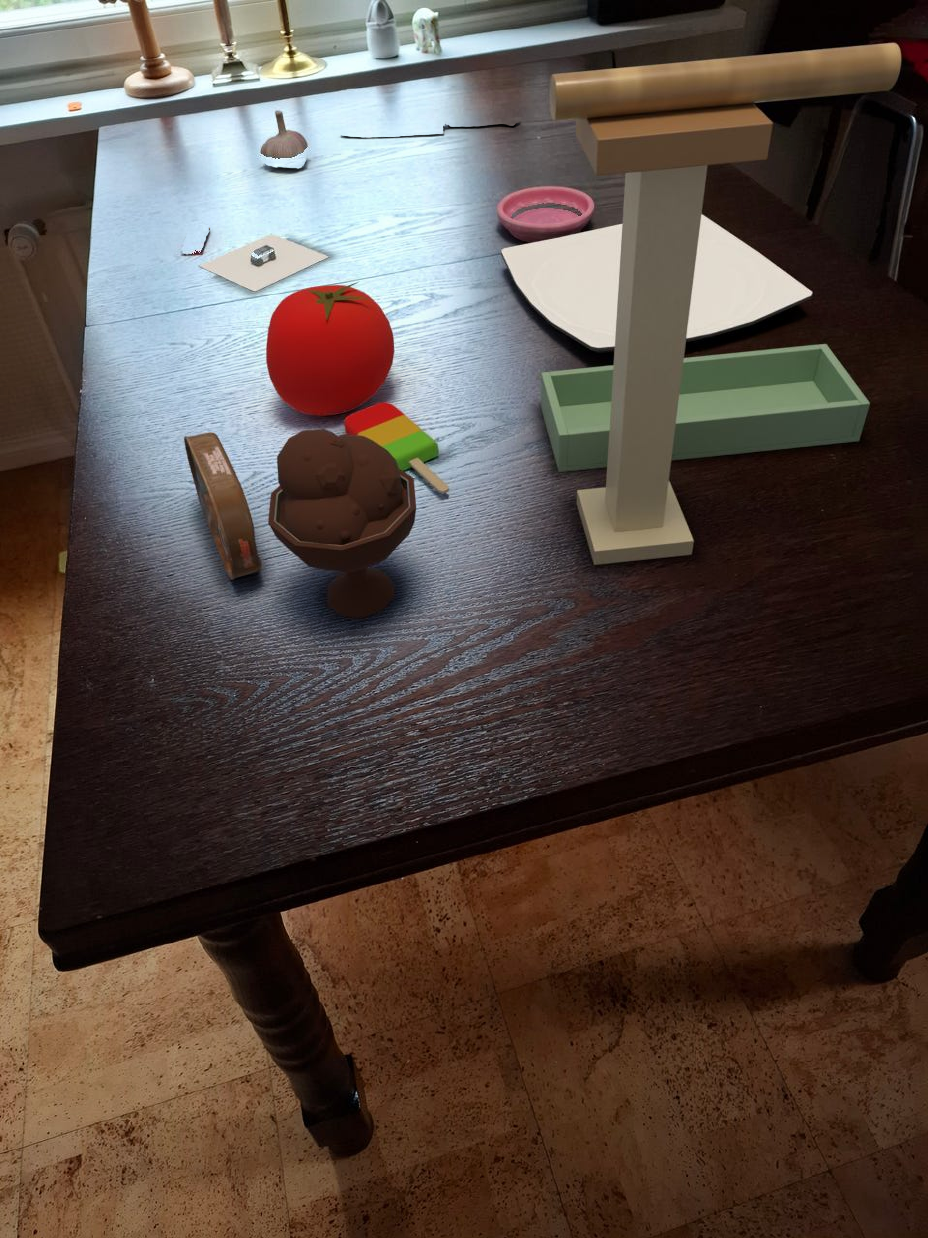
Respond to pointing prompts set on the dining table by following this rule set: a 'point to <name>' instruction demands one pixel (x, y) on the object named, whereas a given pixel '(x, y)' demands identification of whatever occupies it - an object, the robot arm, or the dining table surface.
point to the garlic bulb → (284, 142)
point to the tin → (223, 504)
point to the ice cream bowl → (343, 513)
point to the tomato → (328, 349)
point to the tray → (716, 406)
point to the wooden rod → (724, 81)
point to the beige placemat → (263, 262)
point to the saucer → (545, 213)
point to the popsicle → (397, 439)
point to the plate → (589, 279)
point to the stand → (655, 310)
